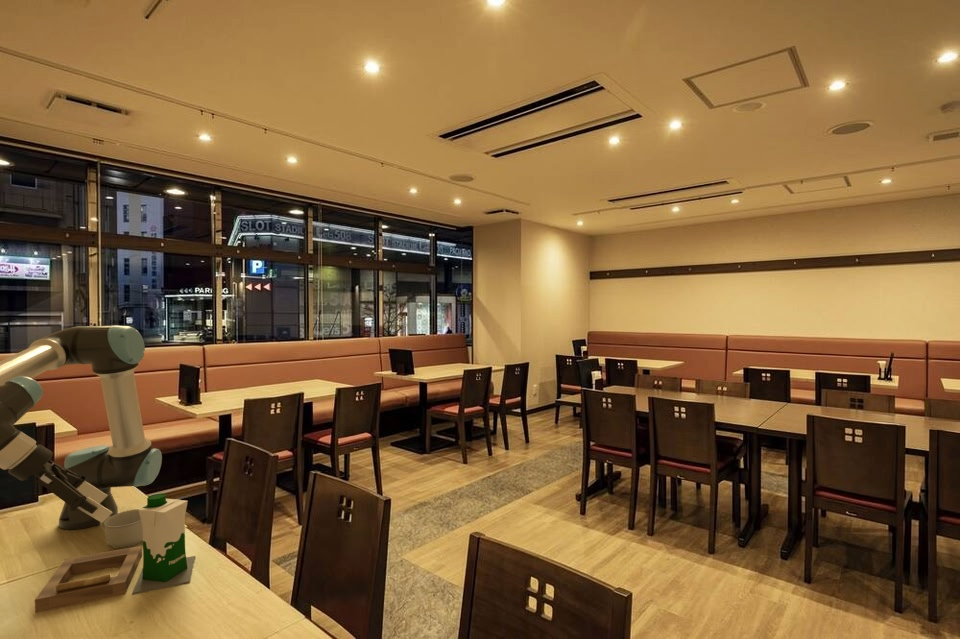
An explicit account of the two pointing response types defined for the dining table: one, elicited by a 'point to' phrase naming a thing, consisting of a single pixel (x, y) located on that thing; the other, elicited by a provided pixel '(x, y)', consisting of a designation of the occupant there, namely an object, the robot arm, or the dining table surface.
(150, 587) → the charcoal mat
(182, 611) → the dining table surface
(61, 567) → the frame
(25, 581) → the dining table surface
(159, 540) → the soya milk
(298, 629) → the dining table surface
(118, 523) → the teacup
